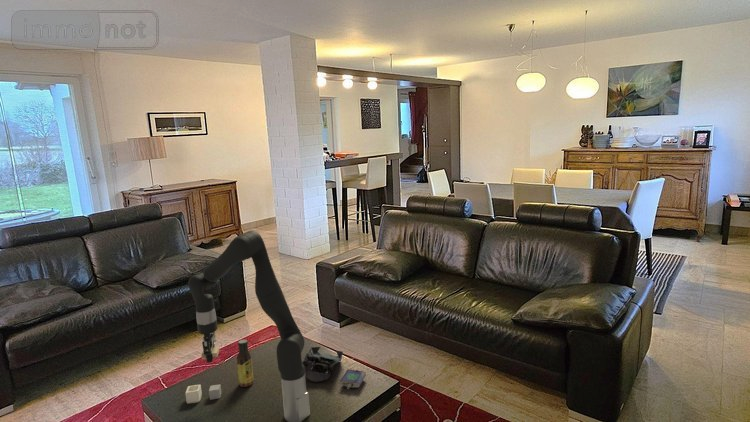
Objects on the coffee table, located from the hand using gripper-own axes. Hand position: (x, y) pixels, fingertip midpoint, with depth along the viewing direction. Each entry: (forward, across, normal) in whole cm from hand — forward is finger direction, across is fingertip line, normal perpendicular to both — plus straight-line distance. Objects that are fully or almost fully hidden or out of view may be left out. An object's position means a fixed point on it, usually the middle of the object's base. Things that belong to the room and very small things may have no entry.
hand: (211, 358), depth 177 cm
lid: (-1, 0, 0) cm, 1 cm away
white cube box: (+17, 0, -9) cm, 19 cm away
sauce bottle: (+18, -6, +12) cm, 22 cm away
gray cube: (+17, 0, 0) cm, 17 cm away
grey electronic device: (+19, +2, +60) cm, 62 cm away
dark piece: (+18, -8, +45) cm, 49 cm away
